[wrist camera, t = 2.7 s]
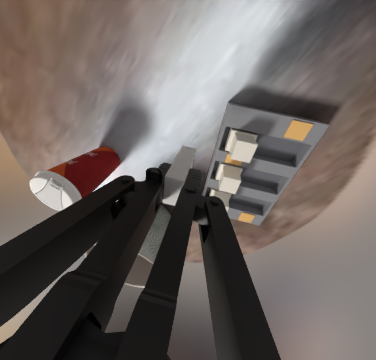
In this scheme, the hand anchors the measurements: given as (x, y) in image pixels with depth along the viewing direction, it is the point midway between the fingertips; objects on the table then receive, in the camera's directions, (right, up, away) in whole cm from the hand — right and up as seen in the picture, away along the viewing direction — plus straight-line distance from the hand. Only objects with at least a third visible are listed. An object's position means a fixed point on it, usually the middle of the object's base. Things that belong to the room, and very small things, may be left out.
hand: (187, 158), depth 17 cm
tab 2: (+8, 0, +12) cm, 14 cm away
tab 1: (+9, +4, +8) cm, 13 cm away
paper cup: (-18, +3, +17) cm, 25 cm away
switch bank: (+12, 0, +12) cm, 17 cm away
